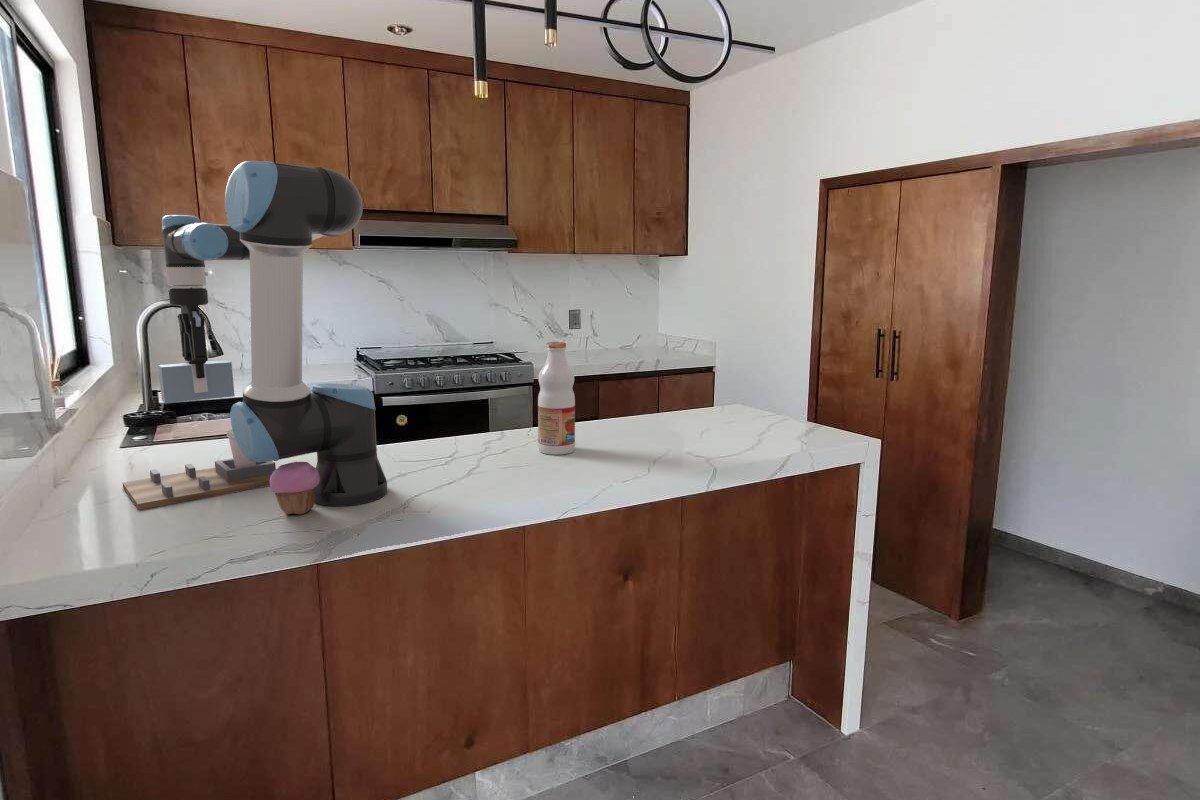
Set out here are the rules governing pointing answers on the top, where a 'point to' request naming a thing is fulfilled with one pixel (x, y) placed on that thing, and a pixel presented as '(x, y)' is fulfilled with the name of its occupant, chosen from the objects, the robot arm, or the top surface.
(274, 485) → the cupcake
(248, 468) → the frame
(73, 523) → the top surface
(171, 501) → the jig board
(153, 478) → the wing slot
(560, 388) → the fruit juice
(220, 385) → the light blue rectangular block
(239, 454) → the smoothie
